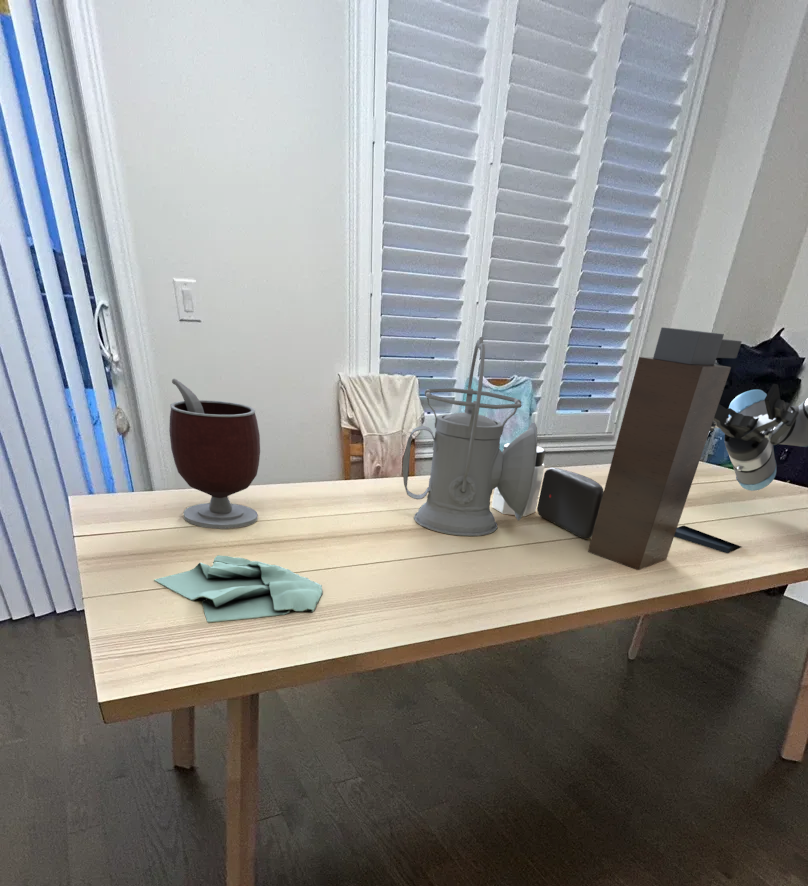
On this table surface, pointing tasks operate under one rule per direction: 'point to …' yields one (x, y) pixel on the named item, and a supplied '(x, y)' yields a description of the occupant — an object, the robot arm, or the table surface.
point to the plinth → (656, 459)
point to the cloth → (244, 589)
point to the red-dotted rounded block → (570, 501)
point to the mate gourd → (215, 456)
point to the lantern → (473, 464)
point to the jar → (503, 507)
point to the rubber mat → (705, 539)
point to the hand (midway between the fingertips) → (731, 385)
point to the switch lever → (694, 347)
